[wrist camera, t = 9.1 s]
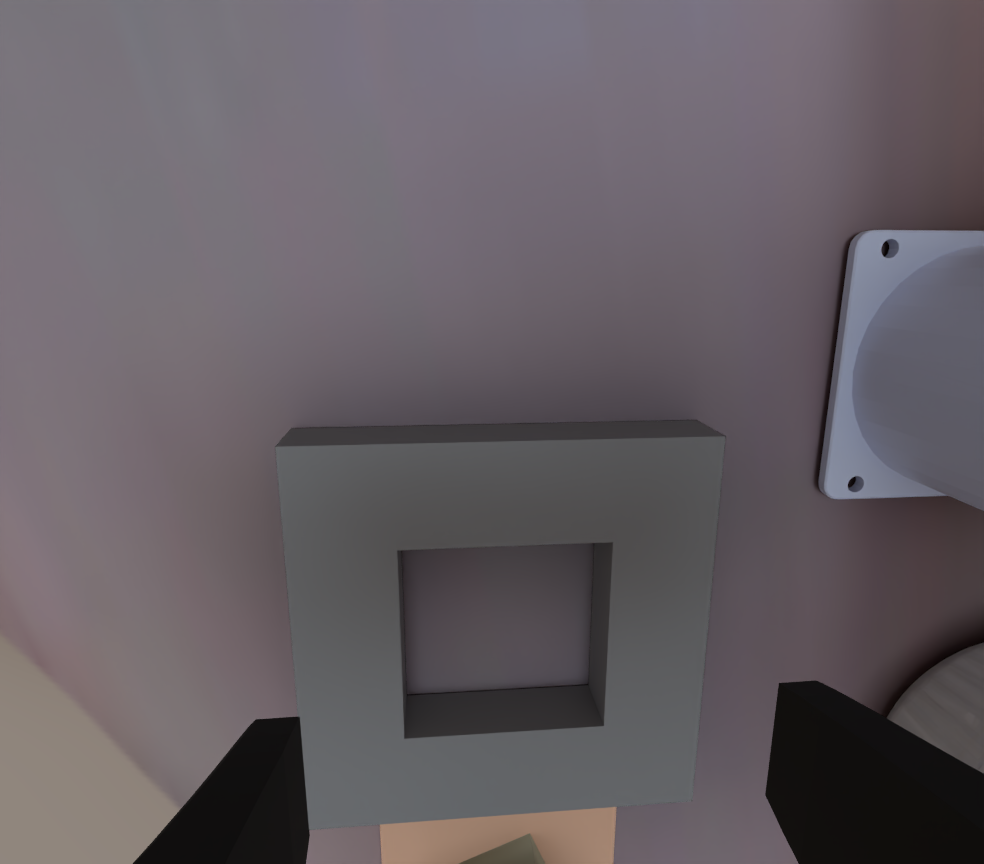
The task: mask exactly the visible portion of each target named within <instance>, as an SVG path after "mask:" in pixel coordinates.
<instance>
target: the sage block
mask: <svg viewBox="0 0 984 864" xmlns="http://www.w3.org/2000/svg"><path fill="white" fill-rule="evenodd" d="M459 864H545V862H544V860H543V858H542V856H541V854H540V852H539V850H538V848H537V846H536V844H535V842H534V840H533V838H532V836H531V834H530V833H529V834H527V835H524V836H522V837H520V838H517V839H515V840H513V841H510V842H508V843H506V844H503V845H501V846H499V847H496V848H494V849H492V850H489V851H487V852H484V853H482V854H480V855H477V856H475V857H473V858H470V859H468V860H466V861H463V862H461V863H459Z"/></svg>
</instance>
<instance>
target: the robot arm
mask: <svg viewBox="0 0 984 864" xmlns="http://www.w3.org/2000/svg"><path fill="white" fill-rule="evenodd" d="M885 241H887V242H888V244H889V251H888V254H887V255H886V256H885V257H884V256H883V255H882V252H881V248H882V245H883V243H884V242H885ZM855 476H856V481H855V483H854V485H853V486H852V487H849V488H848V482H849V480H850V479H851V478H852V477H855ZM819 488H820V490H821V492H822V493H823V494H825V495H826V496H828V497H830V498H832V499H868V498H898V497H929V496H950V497H952V498H955V499H957V500H959V501H962V502H964V503H966V504H968V505H971V506H973V507H975V508H978V509H980V510H982V511H984V231H947V230H870V231H864V232H861V233H859V234H858V235H856V236H855V237H854V238H853V240H852V241H851V243H850V247H849V251H848V259H847V267H846V274H845V282H844V290H843V297H842V305H841V313H840V320H839V328H838V336H837V343H836V351H835V359H834V366H833V374H832V382H831V390H830V397H829V405H828V413H827V420H826V428H825V436H824V443H823V451H822V459H821V466H820V474H819ZM766 797H767V799H768V801H769V804H770V806H771V808H772V810H773V812H774V814H775V816H776V818H777V821H778V823H779V825H780V827H781V829H782V831H783V833H784V835H785V837H786V839H787V841H788V843H789V845H790V847H791V849H792V851H793V853H794V855H795V857H796V859H797V861H798V863H799V864H984V773H982V772H980V771H978V770H976V769H975V768H973V767H971V766H969V765H967V764H966V763H964V762H962V761H960V760H959V759H957V758H955V757H953V756H952V755H950V754H948V753H946V752H944V751H943V750H941V749H939V748H937V747H936V746H934V745H932V744H930V743H929V742H927V741H925V740H923V739H922V738H920V737H918V736H916V735H915V734H913V733H911V732H909V731H908V730H906V729H904V728H903V727H901V726H899V725H897V724H896V723H894V722H892V721H890V720H889V719H887V718H885V717H883V716H882V715H880V714H878V713H876V712H875V711H873V710H871V709H869V708H868V707H866V706H864V705H862V704H860V703H859V702H857V701H855V700H853V699H851V698H850V697H848V696H846V695H844V694H842V693H840V692H838V691H836V690H835V689H833V688H831V687H829V686H827V685H825V684H823V683H820V682H818V681H803V682H789V683H779V688H778V696H777V704H776V712H775V720H774V729H773V737H772V745H771V753H770V762H769V770H768V778H767V786H766ZM308 843H309V823H308V811H307V798H306V786H305V774H304V762H303V750H302V738H301V725H300V717H286V718H272V719H257V720H255V721H254V722H253V723H252V724H251V725H250V726H249V727H248V728H247V729H246V731H245V732H244V733H243V734H242V736H241V737H240V738H239V739H238V740H237V742H236V743H235V744H234V745H233V747H232V748H231V749H230V750H229V752H228V753H227V754H226V755H225V757H224V758H223V759H222V760H221V762H220V763H219V764H218V765H217V767H216V768H215V769H214V770H213V771H212V773H211V774H210V775H209V776H208V777H207V779H206V780H205V781H204V782H203V784H202V785H201V786H200V787H199V788H198V790H197V791H196V792H195V793H194V794H193V796H192V797H191V798H190V799H189V800H188V801H187V803H186V804H185V805H184V806H183V807H182V808H181V809H180V811H179V812H178V813H177V814H176V815H175V816H174V818H173V819H172V820H171V821H170V822H169V823H168V825H167V826H166V827H165V828H164V829H163V830H162V831H161V833H160V834H159V835H158V836H157V838H155V840H154V841H153V842H152V843H151V844H150V845H149V846H148V847H147V849H146V850H145V851H144V852H143V853H142V854H141V855H140V856H139V857H138V858H137V860H136V861H135V862H134V863H133V864H306V858H307V850H308Z"/></svg>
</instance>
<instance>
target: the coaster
mask: <svg viewBox="0 0 984 864" xmlns="http://www.w3.org/2000/svg"><path fill="white" fill-rule="evenodd" d="M615 823H616V807H608V808H595V809H581V810H568V811H554V812H541V813H528V814H514V815H501V816H488V817H474V818H461V819H448V820H434V821H421V822H408V823H394V824H381V825H380V836H381V856H382V864H459V863H461V862H463V861H466V860H468V859H470V858H473V857H475V856H477V855H480V854H482V853H484V852H487V851H489V850H492V849H494V848H496V847H499V846H501V845H503V844H506V843H508V842H510V841H513V840H515V839H517V838H520V837H522V836H524V835H527V834H529V833H530V834H531V836H532V838H533V840H534V842H535V844H536V846H537V848H538V850H539V852H540V854H541V856H542V858H543V860H544V862H545V864H613V858H614V840H615Z"/></svg>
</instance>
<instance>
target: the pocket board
mask: <svg viewBox="0 0 984 864" xmlns="http://www.w3.org/2000/svg"><path fill="white" fill-rule="evenodd" d="M725 438H726V436H724V435H722V434H721V433H719V432H717V431H715V430H713V429H712V428H710V427H708V426H706V425H705V424H703V423H701V422H699V421H697V420H671V421H622V422H573V423H525V424H476V425H428V426H379V427H330V428H291V429H290V431H289V432H288V433H287V434H286V435H285V436H284V437H283V438H282V440H281V441H280V442H279V443H278V444H277V445H276V446H275V451H276V463H277V475H278V487H279V499H280V510H281V522H282V534H283V546H284V558H285V570H286V582H287V594H288V605H289V617H290V629H291V641H292V653H293V665H294V677H295V688H296V700H297V712H298V717H300V725H301V738H302V750H303V762H304V774H305V786H306V798H307V811H308V823H309V830H314V829H327V828H341V827H354V826H367V825H381V824H394V823H408V822H421V821H434V820H448V819H461V818H474V817H488V816H501V815H514V814H528V813H541V812H554V811H568V810H581V809H595V808H608V807H621V806H635V805H648V804H661V803H675V802H688V801H692V798H693V787H694V776H695V765H696V754H697V743H698V732H699V721H700V710H701V700H702V689H703V678H704V667H705V656H706V645H707V634H708V623H709V612H710V601H711V590H712V580H713V569H714V558H715V547H716V536H717V525H718V514H719V503H720V492H721V481H722V471H723V460H724V449H725ZM582 543H594V562H593V586H592V609H591V633H590V657H589V680H588V685H581V686H564V687H546V688H529V689H512V690H494V691H477V692H459V693H442V694H425V695H407V687H406V659H405V632H404V604H403V577H402V550H422V549H449V548H475V547H502V546H529V545H555V544H582Z"/></svg>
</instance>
